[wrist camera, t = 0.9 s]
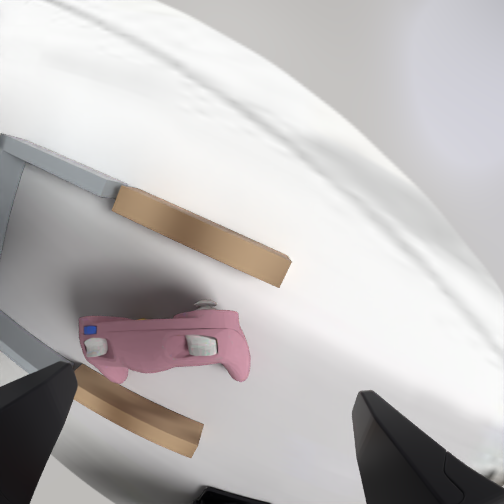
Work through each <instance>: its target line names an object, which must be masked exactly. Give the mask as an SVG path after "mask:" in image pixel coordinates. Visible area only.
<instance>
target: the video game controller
mask: <svg viewBox="0 0 504 504" xmlns="http://www.w3.org/2000/svg"><path fill="white" fill-rule="evenodd" d="M216 305H217V303H216V302H214V301H211V300H208V299H204V300H200V301H198V302H197V303H195V304H194V306H195V307H199V308H198V309H196V310H195V311H191V312H184V313H180V314H176V315H175V316H174V317H173V319H138V320H131V319H127V318H122V317H113V316H84V317H81V318H79V339H80V344H81V348H82V351H83V354H84V356H85V358H86V360H87V361H88V362H89V363H91V364H92V365H94V366H95V367H96V368H98V369H99V371H100V372H101V373H102V374H103V375H104V376H105V377H106V378H107V379H109V380H110V381H111V382H113V383H118V384H121V383H123V382H124V381H125V380H126V379H127V376H128V369H131V370H134V371H137V372H141V373H156V372H161V371H165V370H168V369H171V368H173V367H184V366H201V365H208V364H215V363H222V364H223V365H224V366H225V368H226V369H227V371H228V372H229V374H230V375H231V377H232V378H233V379H235V380H236V381H239V382H242V381H245V380H246V379H247V377H248V376H249V371H250V352H249V347H248V344H247V341H246V338H245V336H244V334H243V332H242V329H241V327H240V325H239V316H238V313H237V312H235V311H230V310H217V309H215V308H212V307H213V306H216Z"/></svg>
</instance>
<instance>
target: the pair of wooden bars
mask: <svg viewBox="0 0 504 504" xmlns="http://www.w3.org/2000/svg"><path fill="white" fill-rule="evenodd" d="M112 211H113V212H115V213H117V214H119V215H122V216H124V217H126V218H128V219H130V220H132V221H134V222H136V223H138V224H140V225H143V226H145V227H147V228H149V229H151V230H153V231H155V232H157V233H160V234H162V235H164V236H166V237H168V238H170V239H172V240H175V241H177V242H179V243H181V244H183V245H185V246H187V247H190V248H192V249H194V250H196V251H198V252H200V253H203V254H205V255H207V256H209V257H211V258H213V259H216V260H218V261H220V262H222V263H224V264H227V265H229V266H231V267H233V268H235V269H238V270H240V271H242V272H244V273H247V274H249V275H251V276H253V277H255V278H258V279H260V280H262V281H264V282H267V283H269V284H271V285H273V286H276V287H278V288H280V285H281V283H282V281H283V279H284V277H285V275H286V273H287V271H288V269H289V267H290V264H291V260H290V259H289V257H288V256H287V255H285V254H283V253H281V252H278V251H276V250H274V249H272V248H270V247H267V246H265V245H263V244H261V243H259V242H256V241H254V240H252V239H250V238H248V237H245V236H243V235H241V234H239V233H237V232H234V231H232V230H230V229H228V228H225V227H223V226H221V225H219V224H217V223H214V222H212V221H210V220H208V219H205V218H203V217H201V216H199V215H196V214H194V213H192V212H190V211H188V210H185V209H183V208H181V207H179V206H176V205H174V204H172V203H170V202H167V201H165V200H163V199H161V198H158V197H156V196H154V195H151V194H149V193H147V192H145V191H142V190H140V189H138V188H133V187H128V186H123V185H121V188H120V190H119V193H118V195H117V198H116V200H115V203H114V205H113V208H112ZM74 372H75V376H76V379H77V382H78V388H77V391H76V394H75V396H74V400H76V401H77V402H79V403H81V404H82V405H84V406H86V407H87V408H89V409H91V410H92V411H94V412H96V413H97V414H99V415H101V416H103V417H104V418H106V419H108V420H110V421H112V422H114V423H115V424H117V425H119V426H121V427H123V428H125V429H127V430H129V431H131V432H133V433H135V434H137V435H139V436H141V437H143V438H145V439H147V440H149V441H151V442H154V443H156V444H158V445H160V446H163V447H165V448H167V449H169V450H172V451H174V452H177V453H179V454H181V455H184V456H186V457H189V458H191V457H192V456H193V454H194V452H195V450H196V448H197V447H198V444H199V440H200V437H201V433H202V429H203V426H204V424H201V423H199V422H196V421H194V420H191V419H189V418H187V417H184V416H182V415H180V414H178V413H175V412H173V411H171V410H169V409H166V408H164V407H162V406H160V405H158V404H156V403H154V402H152V401H150V400H148V399H146V398H144V397H142V396H140V395H138V394H136V393H134V392H132V391H130V390H128V389H126V388H124V387H122V386H121V385H119V384H117V383H113V382H111V381H110V380H109V379H107V378H106V377H104V376H103V375H101V374H99V373H97V372H96V371H94V370H92V369H91V368H89V367H87V366H86V365H84V364H82V365H81V366H79V367H78V368H77V369H76V370H75V371H74Z"/></svg>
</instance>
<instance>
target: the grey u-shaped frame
mask: <svg viewBox="0 0 504 504" xmlns="http://www.w3.org/2000/svg"><path fill="white" fill-rule="evenodd" d="M26 162H28V163H30V164H32V165H34V166H36V167H39V168H41V169H43V170H45V171H47V172H49V173H51V174H53V175H55V176H57V177H59V178H61V179H63V180H66V181H68V182H70V183H72V184H74V185H76V186H78V187H80V188H82V189H84V190H87V191H89V192H91V193H93V194H95V195H97V196H99V197H106V198H117V195H118V193H119V190H120V188H121V185H123V186H128V184H127V183H124V182H122V181H120V180H117V179H115V178H113V177H111V176H108V175H106V174H104V173H101V172H99V171H97V170H94V169H92V168H90V167H88V166H85V165H83V164H81V163H78V162H76V161H74V160H71V159H69V158H67V157H64V156H62V155H60V154H57V153H55V152H53V151H50V150H48V149H46V148H43V147H41V146H39V145H36V144H34V143H32V142H29V141H27V140H24V139H21V138H17V137H13V136H10V135H6V134H2V133H1V134H0V258H1V252H2V247H3V242H4V237H5V233H6V228H7V224H8V220H9V216H10V212H11V208H12V205H13V201H14V197H15V194H16V191H17V187H18V184H19V181H20V178H21V175H22V172H23V169H24V166H25V163H26ZM0 351H2V352H3V353H4V354H5V355H6V356H7V357H9V358H10V359H11V360H12V361H14V362H15V363H16V364H17V365H19V366H20V367H21V368H22V369H24V370H25V371H26V372H28V373H29V374H31V373H33V372H36V371H38V370H40V369H43V368H45V367H47V366H49V365H52V364H54V363H56V362H58V361H64V362H68V363H70V364H71V365H72V366H73V365H74V363H72V362H70V361H69V360H67V359H66V358H64V357H63V356H61V355H60V354H58V353H57V352H55V351H54V350H52V349H51V348H49V347H48V346H47V345H45V344H44V343H42V342H41V341H40V340H38V339H37V338H35V337H34V336H33V335H31V334H30V333H29V332H27V331H26V330H25V329H23V328H22V327H21V326H19V325H18V324H17V323H16V322H14V321H13V320H12V319H11V318H9V317H8V316H7V315H6V314H4V313H3V312H2V311H1V310H0Z"/></svg>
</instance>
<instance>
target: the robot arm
mask: <svg viewBox="0 0 504 504" xmlns="http://www.w3.org/2000/svg"><path fill="white" fill-rule="evenodd" d="M77 388H78V382H77V379H76V376H75V372H74V369H73V366H72V365H71V364H70V363H68V362H64V361H58V362H56V363H54V364H52V365H49V366H47V367H45V368H43V369H40V370H38V371H36V372H33V373H31V374H29V375H27V376H24V377H22V378H20V379H17V380H15V381H13V382H10V383H8V384H6V385H4V386H1V387H0V504H30V501H31V499H32V496H33V494H34V491H35V489H36V486H37V484H38V481H39V479H40V477H41V474H42V472H43V470H44V467H45V465H46V463H47V460H48V458H49V456H50V454H51V452H52V450H53V447H54V445H55V443H56V441H57V439H58V437H59V434H60V432H61V430H62V428H63V426H64V424H65V421H66V418H67V416H68V413H69V410H70V407H71V404H72V402H73V399H74V396H75V394H76V391H77ZM352 421H353V429H354V438H355V448H356V457H357V462H358V466H359V471H360V475H361V480H362V484H363V489H364V493H365V498H366V503H367V504H504V488H503V487H501V486H500V485H498V484H496V483H494V482H493V481H491V480H489V479H488V478H486V477H484V476H483V475H481V474H479V473H478V472H476V471H475V470H473V469H471V468H470V467H468V466H467V465H465V464H464V463H463V462H461V461H460V460H459V459H457V458H456V457H455V456H453V455H452V454H451V453H450V452H448V451H447V452H446V449H444V448H443V447H442V446H441V445H439V444H438V443H437V442H436V441H434V440H433V439H432V438H431V437H429V436H428V435H427V434H426V433H424V432H423V431H422V430H421V429H419V428H418V427H417V426H416V425H414V424H413V423H412V422H411V421H409V420H408V419H407V418H406V417H405V416H403V415H402V414H401V413H400V412H398V411H397V410H396V409H395V408H394V407H392V406H391V405H390V404H389V403H387V402H386V401H385V400H384V399H383V398H381V397H380V396H379V395H378V394H377V393H375V392H374V391H372V390H364V391H360V392H359V393H358V395H357V398H356V401H355V404H354V407H353V410H352ZM191 504H268V503H263V502H259V501H255V500H251V499H247V498H244V497H240V496H236V495H233V494H229V493H226V492H223V491H220V490H216V489H213V488H206V489H205V490H204V492H203V493H202V495H201V496H200V498H199V499H198V500H194V501H193V502H192V503H191Z"/></svg>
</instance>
